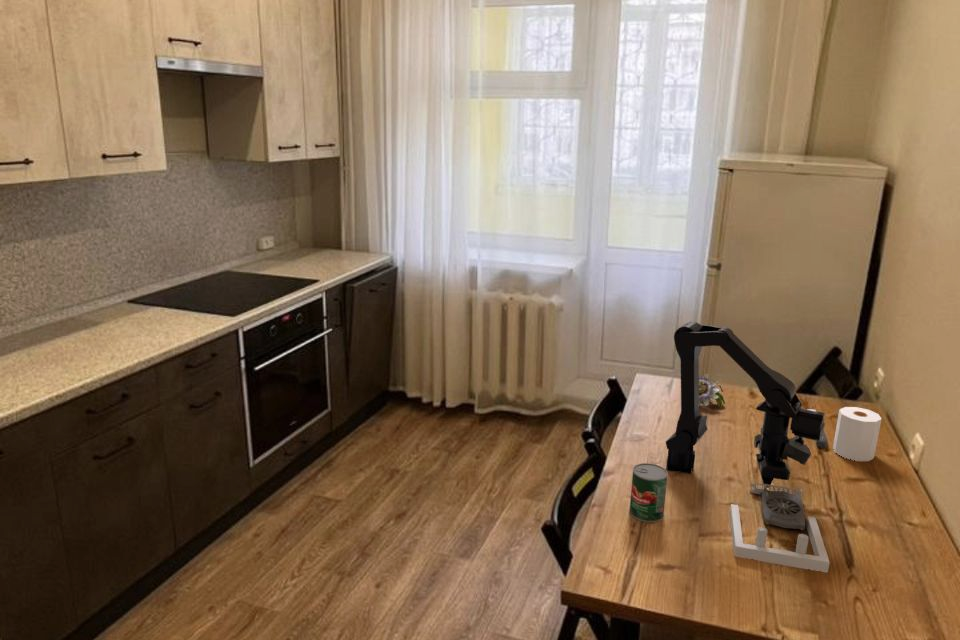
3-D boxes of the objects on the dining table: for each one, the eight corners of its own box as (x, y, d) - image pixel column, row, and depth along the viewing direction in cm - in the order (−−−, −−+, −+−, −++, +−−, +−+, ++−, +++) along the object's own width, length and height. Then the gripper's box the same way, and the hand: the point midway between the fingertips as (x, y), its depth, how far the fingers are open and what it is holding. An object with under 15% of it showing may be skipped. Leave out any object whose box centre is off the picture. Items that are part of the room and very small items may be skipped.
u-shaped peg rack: (734, 556, 147) (737, 531, 145) (729, 513, 163) (732, 490, 162) (827, 572, 142) (832, 547, 141) (813, 526, 158) (817, 503, 157)
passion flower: (695, 422, 226) (676, 392, 225) (702, 405, 235) (683, 376, 233) (727, 411, 219) (707, 380, 218) (732, 394, 228) (713, 364, 227)
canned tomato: (665, 508, 165) (669, 466, 162) (662, 525, 158) (666, 482, 155) (631, 501, 168) (635, 460, 164) (627, 518, 160) (630, 476, 157)
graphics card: (750, 479, 173) (803, 487, 169) (749, 493, 174) (801, 501, 170) (751, 514, 158) (809, 524, 154) (750, 529, 159) (807, 539, 155)
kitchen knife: (798, 406, 225) (815, 404, 223) (799, 413, 225) (816, 412, 223) (809, 442, 198) (828, 441, 196) (810, 451, 198) (829, 449, 196)
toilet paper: (834, 457, 192) (841, 417, 188) (831, 442, 201) (838, 404, 198) (875, 465, 188) (883, 424, 185) (870, 449, 197) (878, 409, 194)
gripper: (818, 451, 157) (807, 511, 162) (804, 418, 175) (795, 474, 179) (765, 444, 160) (757, 504, 165) (757, 413, 177) (749, 467, 182)
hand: (766, 486), depth 172 cm, fingers closed
